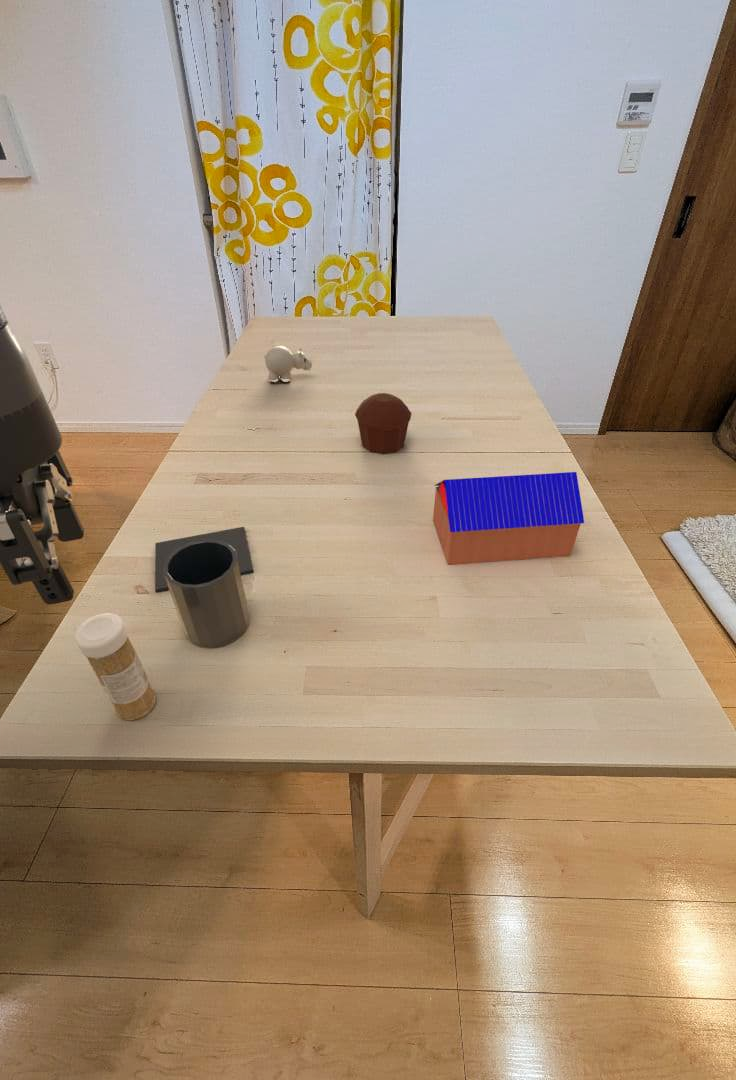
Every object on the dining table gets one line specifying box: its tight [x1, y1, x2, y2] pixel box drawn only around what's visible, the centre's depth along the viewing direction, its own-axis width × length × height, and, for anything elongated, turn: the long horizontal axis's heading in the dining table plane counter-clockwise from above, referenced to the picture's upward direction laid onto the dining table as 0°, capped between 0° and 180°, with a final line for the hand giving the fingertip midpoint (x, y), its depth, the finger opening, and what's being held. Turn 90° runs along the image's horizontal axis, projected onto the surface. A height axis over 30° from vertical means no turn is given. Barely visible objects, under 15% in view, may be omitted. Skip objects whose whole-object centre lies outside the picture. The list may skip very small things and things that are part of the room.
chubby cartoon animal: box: [264, 345, 314, 380], centre depth 131 cm, size 7×12×8 cm, turn 97°
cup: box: [164, 540, 251, 649], centre depth 66 cm, size 9×9×11 cm
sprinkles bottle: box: [74, 612, 157, 721], centre depth 56 cm, size 5×5×13 cm
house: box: [432, 471, 585, 566], centre depth 80 cm, size 12×20×12 cm, turn 96°
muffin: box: [354, 392, 412, 455], centre depth 105 cm, size 12×11×10 cm
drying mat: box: [154, 526, 254, 593], centre depth 80 cm, size 14×11×1 cm
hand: (67, 567), depth 47 cm, fingers open, 8 cm apart
